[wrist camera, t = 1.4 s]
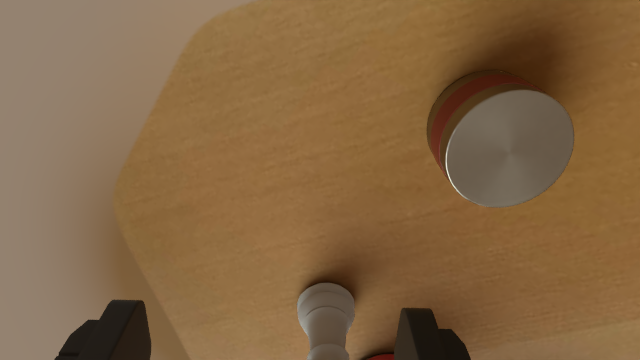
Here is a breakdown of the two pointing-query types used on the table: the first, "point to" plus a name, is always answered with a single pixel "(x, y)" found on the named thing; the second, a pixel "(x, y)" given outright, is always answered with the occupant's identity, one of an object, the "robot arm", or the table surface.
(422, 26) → the table surface
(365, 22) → the table surface
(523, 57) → the table surface
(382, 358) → the beer can
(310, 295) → the rook chess piece
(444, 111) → the tin can
